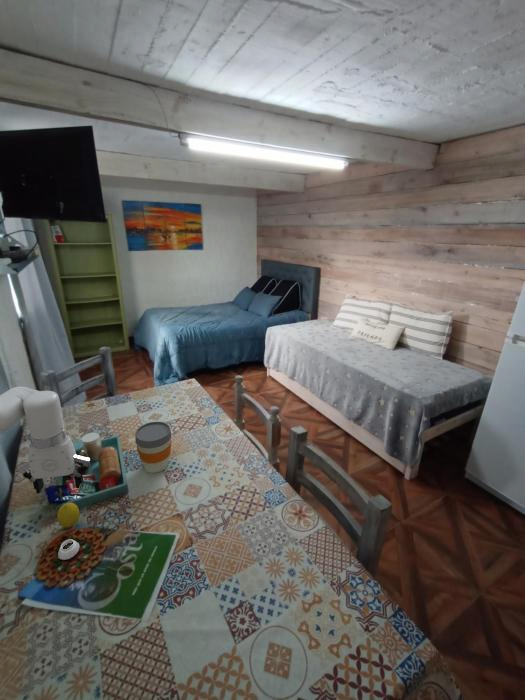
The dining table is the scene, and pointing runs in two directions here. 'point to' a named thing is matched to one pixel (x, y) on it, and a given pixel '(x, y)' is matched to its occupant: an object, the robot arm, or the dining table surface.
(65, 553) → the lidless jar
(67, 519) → the lemon
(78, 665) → the dining table surface
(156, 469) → the reusable coffee cup
